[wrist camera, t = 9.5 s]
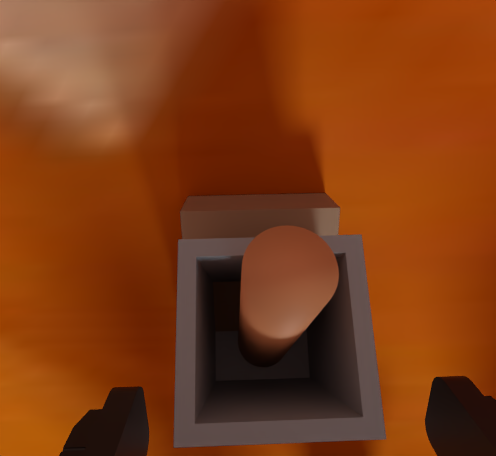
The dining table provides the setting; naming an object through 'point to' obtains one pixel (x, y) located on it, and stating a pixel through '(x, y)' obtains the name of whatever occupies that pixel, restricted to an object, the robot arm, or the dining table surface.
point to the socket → (298, 356)
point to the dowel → (282, 290)
